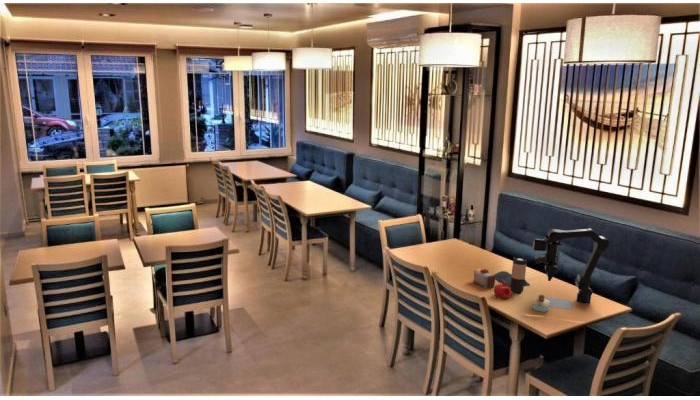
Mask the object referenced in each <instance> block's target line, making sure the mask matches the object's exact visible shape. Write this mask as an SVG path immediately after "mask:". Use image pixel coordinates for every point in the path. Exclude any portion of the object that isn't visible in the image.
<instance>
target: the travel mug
mask: <svg viewBox="0 0 700 400" xmlns="http://www.w3.org/2000/svg"><path fill="white" fill-rule="evenodd" d="M527 261H528V260H527V258H525V257H523V256H513V260H512V266H511V267H512V268H511V274H512V275H511V288H510V289H511V291H512V293H515V294H521V293H522V292H524V289H525V288H524V287H525V286H524V281H525V280H526V274H527V273H526V271H527Z"/></svg>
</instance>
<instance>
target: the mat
mask: <svg viewBox="0 0 700 400" xmlns="http://www.w3.org/2000/svg"><path fill="white" fill-rule="evenodd" d="M545 299H547V300H549V301H550V305H549V308H553V309H554V308H555V309H562V310H570V311H574V308H573V303H572V301H571V299H565V298H558V297H551V296H550V297H549V296H546V297H545Z"/></svg>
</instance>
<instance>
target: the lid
mask: <svg viewBox="0 0 700 400" xmlns="http://www.w3.org/2000/svg"><path fill="white" fill-rule="evenodd" d="M531 302H532V304H533V303H534V304H535V305H538V306H549V305H550V301H549V300H547V299H546V297H545V295H543V294H539V295H538V297H534V298H532V299H531Z"/></svg>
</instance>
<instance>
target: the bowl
mask: <svg viewBox="0 0 700 400" xmlns="http://www.w3.org/2000/svg"><path fill="white" fill-rule="evenodd" d="M531 306H532V309H534V311H537V312H543V313H545V312H548V311H549V308H550V307H549V306H538V305H535V304H534V303H532V305H531Z"/></svg>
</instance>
